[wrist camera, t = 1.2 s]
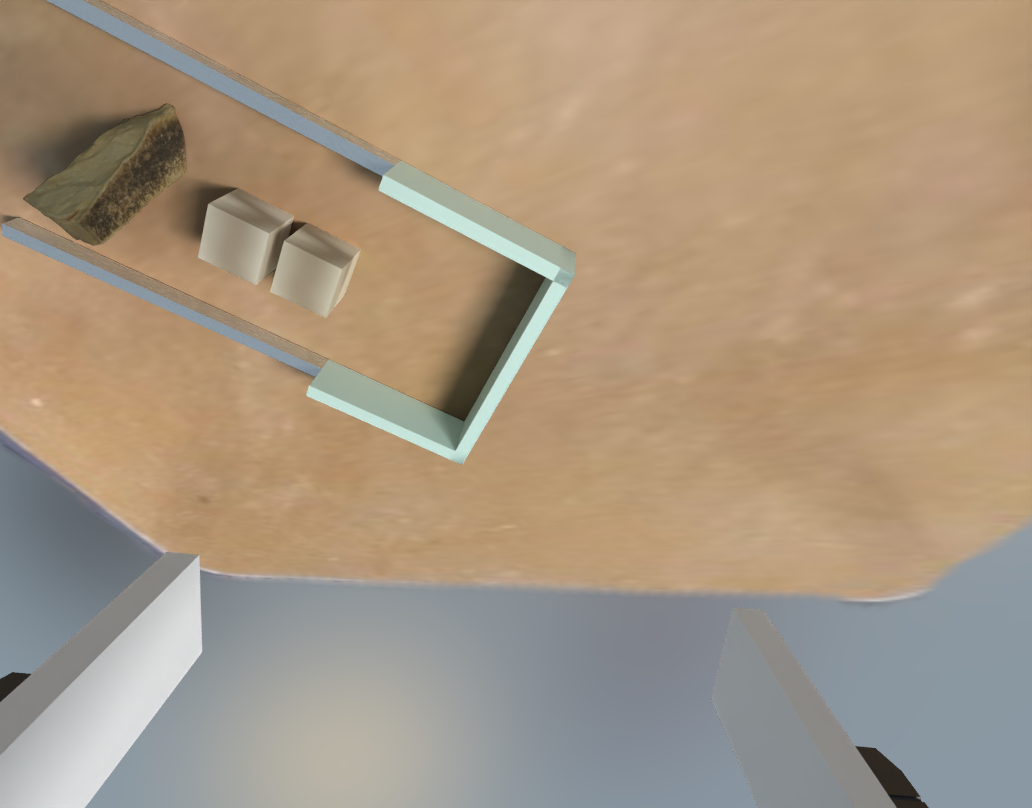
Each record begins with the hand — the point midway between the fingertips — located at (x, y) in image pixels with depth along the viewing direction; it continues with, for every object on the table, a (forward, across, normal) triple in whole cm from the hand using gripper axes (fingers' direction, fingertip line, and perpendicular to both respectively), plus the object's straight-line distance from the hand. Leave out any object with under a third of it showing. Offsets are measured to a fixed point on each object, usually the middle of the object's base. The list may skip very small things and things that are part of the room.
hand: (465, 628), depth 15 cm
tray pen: (+32, -5, +3) cm, 33 cm away
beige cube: (+32, -13, +6) cm, 35 cm away
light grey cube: (+31, -18, +8) cm, 37 cm away
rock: (+31, -27, +12) cm, 43 cm away
